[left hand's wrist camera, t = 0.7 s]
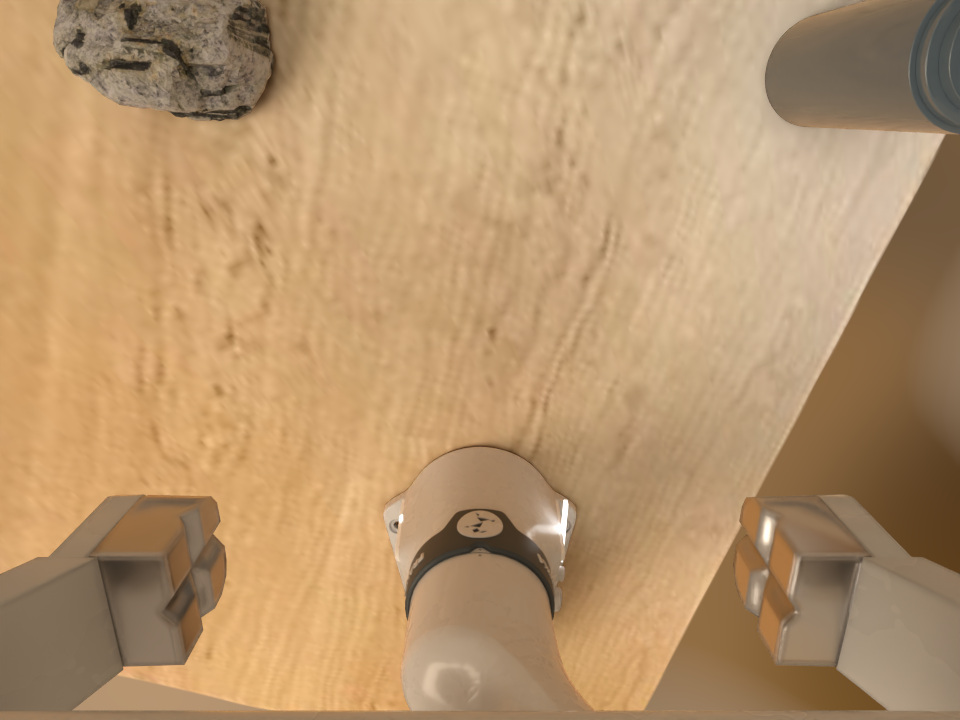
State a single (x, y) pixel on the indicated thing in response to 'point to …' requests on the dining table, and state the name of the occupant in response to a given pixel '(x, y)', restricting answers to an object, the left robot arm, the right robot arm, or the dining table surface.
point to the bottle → (871, 68)
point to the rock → (169, 53)
